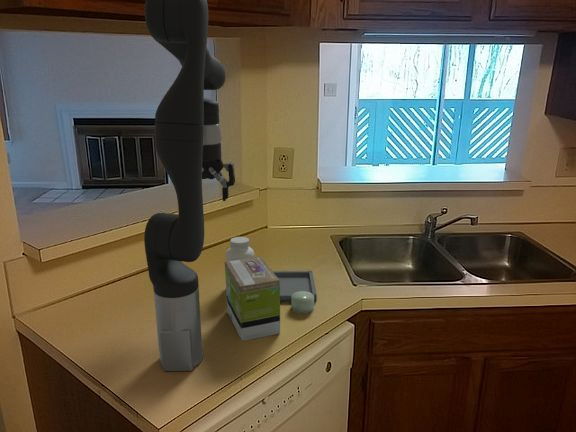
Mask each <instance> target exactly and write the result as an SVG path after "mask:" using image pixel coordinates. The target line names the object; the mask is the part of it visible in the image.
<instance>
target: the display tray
mask: <svg viewBox="0 0 576 432" xmlns="http://www.w3.org/2000/svg"><path fill="white" fill-rule="evenodd" d="M272 271H273V273H274V274H275V275H276V276H277V278H278V279H279V280H280V303H281V302H283V303H284V302H285V303H287V302H290V303H291V296H292V294H293V293H295V292H299V291H306V292H310V293H312V294H313V295H314V302H317V297H318V296H317V289H316V284H315V279H314V273H313V270H272Z"/></svg>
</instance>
